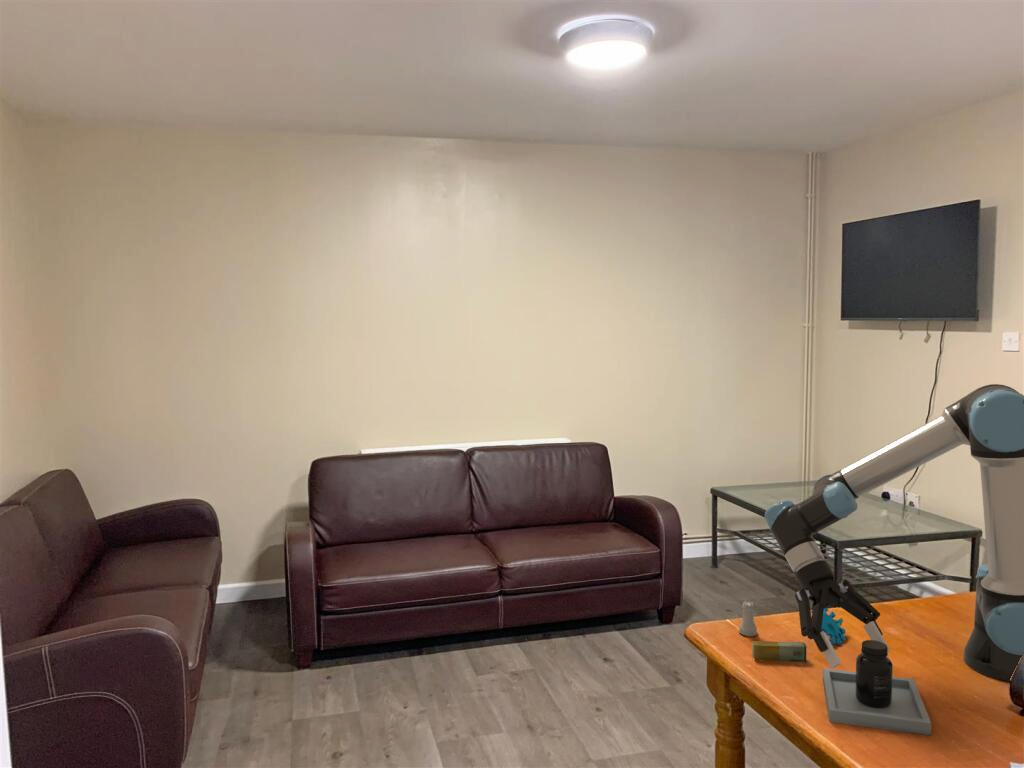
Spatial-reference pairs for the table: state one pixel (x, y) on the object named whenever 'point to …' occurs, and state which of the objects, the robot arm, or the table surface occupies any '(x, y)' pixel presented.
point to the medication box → (779, 651)
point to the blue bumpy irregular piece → (832, 627)
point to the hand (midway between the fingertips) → (861, 659)
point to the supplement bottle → (874, 675)
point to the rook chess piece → (748, 620)
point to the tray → (898, 716)
